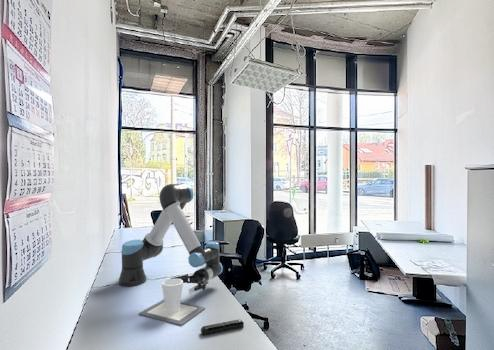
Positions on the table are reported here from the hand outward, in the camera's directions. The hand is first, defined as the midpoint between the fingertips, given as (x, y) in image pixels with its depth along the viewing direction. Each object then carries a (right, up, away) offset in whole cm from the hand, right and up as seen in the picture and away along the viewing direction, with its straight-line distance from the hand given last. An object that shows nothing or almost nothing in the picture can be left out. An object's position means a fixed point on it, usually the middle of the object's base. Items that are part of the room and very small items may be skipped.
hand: (177, 288), depth 150 cm
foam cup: (-2, -9, -3) cm, 9 cm away
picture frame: (-2, -10, -3) cm, 10 cm away
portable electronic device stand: (+23, -11, -19) cm, 32 cm away
